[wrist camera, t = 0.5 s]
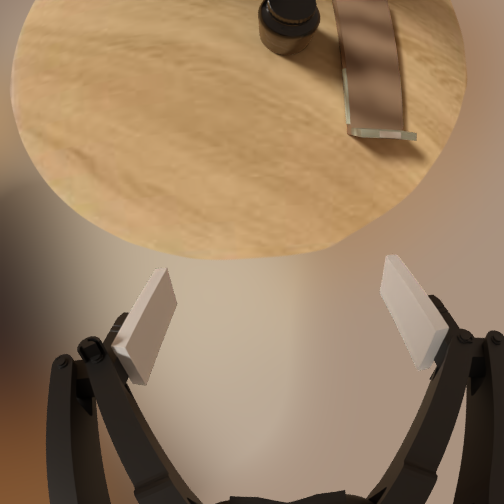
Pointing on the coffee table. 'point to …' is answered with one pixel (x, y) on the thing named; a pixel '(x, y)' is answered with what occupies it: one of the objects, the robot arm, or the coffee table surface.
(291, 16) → the supplement bottle
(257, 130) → the coffee table surface
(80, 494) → the robot arm
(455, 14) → the coffee table surface
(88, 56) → the coffee table surface
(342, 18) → the rail flange
